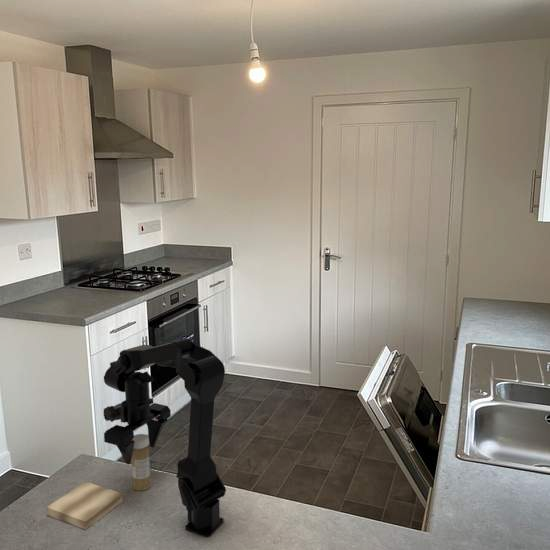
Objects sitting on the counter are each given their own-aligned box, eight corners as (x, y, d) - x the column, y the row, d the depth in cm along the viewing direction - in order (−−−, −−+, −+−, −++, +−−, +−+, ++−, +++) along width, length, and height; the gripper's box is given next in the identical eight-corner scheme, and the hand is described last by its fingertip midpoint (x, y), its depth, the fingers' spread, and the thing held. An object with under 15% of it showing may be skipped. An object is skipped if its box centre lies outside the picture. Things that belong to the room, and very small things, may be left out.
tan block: (122, 501, 132) (122, 493, 131) (85, 529, 121) (85, 521, 121) (86, 488, 137) (85, 481, 137) (47, 515, 126) (46, 507, 126)
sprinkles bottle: (134, 482, 140) (131, 433, 137) (152, 481, 140) (149, 432, 138) (131, 492, 135) (128, 442, 133) (149, 491, 136) (147, 441, 133)
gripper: (137, 378, 145) (139, 433, 148) (84, 404, 129) (88, 465, 132) (170, 385, 140) (173, 441, 143) (120, 413, 124) (124, 476, 127)
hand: (140, 455), depth 136 cm, fingers open, 9 cm apart
